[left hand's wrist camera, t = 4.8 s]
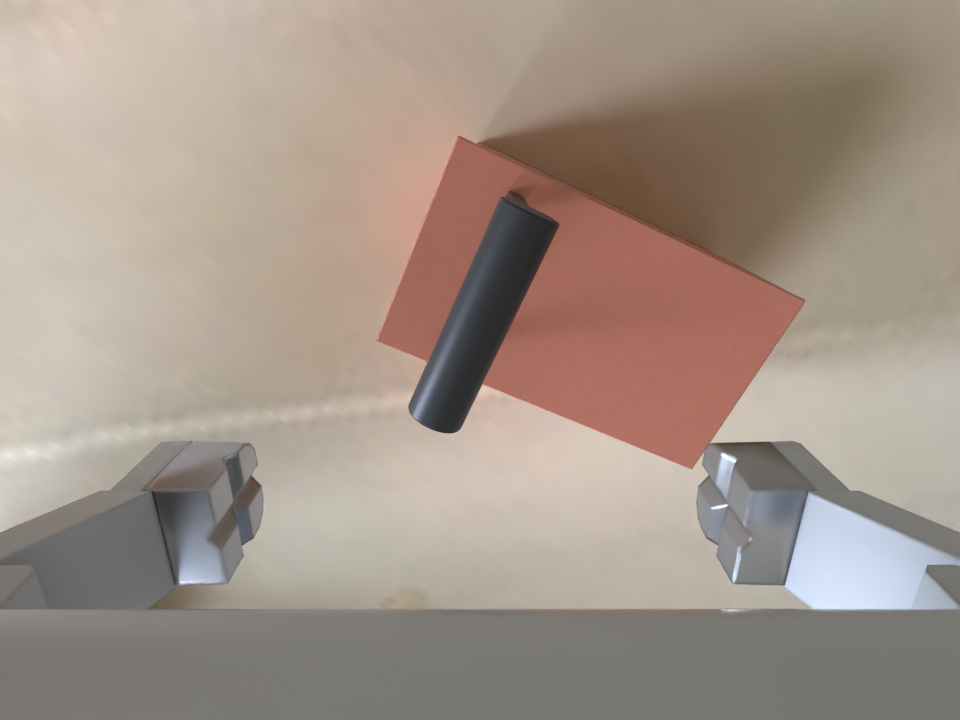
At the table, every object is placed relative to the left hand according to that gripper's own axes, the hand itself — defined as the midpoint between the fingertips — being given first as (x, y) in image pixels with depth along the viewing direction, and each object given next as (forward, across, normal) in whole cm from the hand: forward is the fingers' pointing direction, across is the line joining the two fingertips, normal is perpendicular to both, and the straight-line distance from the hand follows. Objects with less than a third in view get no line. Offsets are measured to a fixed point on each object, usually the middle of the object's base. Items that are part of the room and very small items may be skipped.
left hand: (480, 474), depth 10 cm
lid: (+17, -5, +2) cm, 18 cm away
